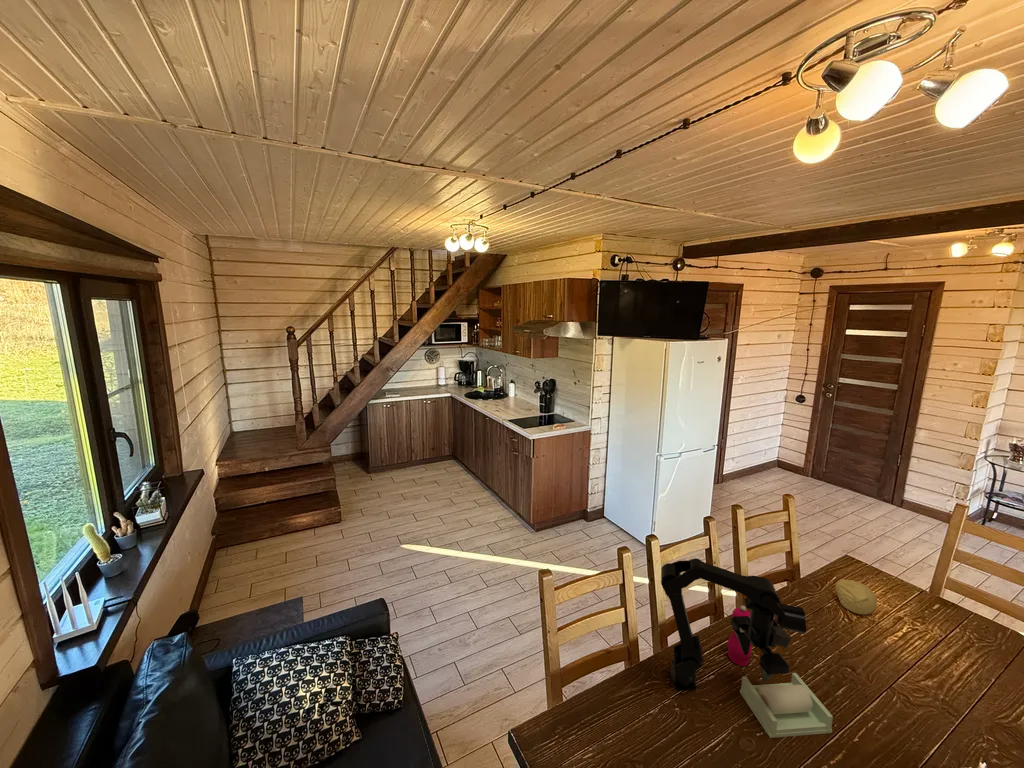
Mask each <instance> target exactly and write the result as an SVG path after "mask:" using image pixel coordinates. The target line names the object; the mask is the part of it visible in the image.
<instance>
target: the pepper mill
mask: <svg viewBox="0 0 1024 768" xmlns="http://www.w3.org/2000/svg"><path fill="white" fill-rule="evenodd" d="M750 613H751V611H749V609H747V608H746V606H745V605H740V606H739V607H736V608H734V609H733V611H732V615H731V618H733V617H734V616H748V617H749V618H750ZM727 649H728V651H727V652H728V653H727V655H728V658H729V660H731V662H733V663H734V664H735V665H738V666H741V667H742V666H744V667H745V666H747V665H749V662H750V656H751V655H752V653H753V648H752V643H750V648H749V652H748V655H744V654H743V651H742V649H741V646H740V643H739V641H738V639H737V636H736V634H735V631H734V630H733V631H732V633H731V634H730V636H729V637H728V640H727Z"/></svg>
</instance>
